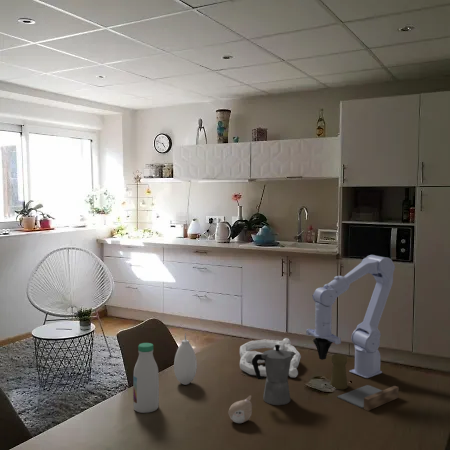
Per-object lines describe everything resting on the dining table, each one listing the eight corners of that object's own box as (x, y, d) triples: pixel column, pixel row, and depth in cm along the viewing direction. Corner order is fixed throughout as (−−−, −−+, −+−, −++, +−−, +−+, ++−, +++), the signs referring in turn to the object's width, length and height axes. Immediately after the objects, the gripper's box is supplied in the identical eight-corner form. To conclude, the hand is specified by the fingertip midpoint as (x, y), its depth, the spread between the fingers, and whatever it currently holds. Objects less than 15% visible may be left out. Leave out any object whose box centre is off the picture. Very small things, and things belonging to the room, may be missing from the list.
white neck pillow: (305, 383, 172) (306, 366, 171) (240, 384, 173) (239, 367, 172) (296, 348, 200) (296, 333, 198) (239, 349, 200) (239, 334, 199)
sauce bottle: (170, 386, 165) (170, 334, 164) (180, 377, 172) (180, 328, 171) (190, 389, 162) (190, 337, 161) (200, 381, 169) (200, 331, 168)
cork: (346, 382, 169) (347, 352, 168) (349, 389, 163) (349, 358, 162) (328, 381, 169) (329, 351, 169) (330, 388, 163) (331, 357, 163)
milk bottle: (162, 404, 150) (162, 342, 149) (151, 415, 143) (151, 349, 142) (141, 401, 153) (140, 339, 152) (128, 411, 146) (128, 347, 144)
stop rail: (393, 396, 158) (394, 385, 158) (398, 397, 157) (398, 387, 156) (363, 408, 148) (363, 397, 148) (368, 410, 147) (368, 399, 147)
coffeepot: (288, 390, 162) (288, 338, 160) (302, 402, 153) (302, 347, 152) (246, 397, 156) (246, 343, 155) (257, 409, 147) (258, 352, 146)
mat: (367, 385, 166) (367, 384, 166) (392, 395, 158) (392, 394, 158) (337, 397, 157) (337, 396, 157) (362, 408, 149) (362, 407, 149)
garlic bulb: (243, 429, 135) (244, 401, 135) (224, 423, 139) (224, 396, 138) (255, 419, 141) (255, 393, 140) (236, 414, 144) (236, 388, 144)
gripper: (300, 318, 174) (300, 355, 175) (331, 327, 163) (330, 367, 163) (314, 316, 178) (313, 351, 179) (345, 324, 167) (344, 362, 168)
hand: (322, 358), depth 172 cm, fingers closed
